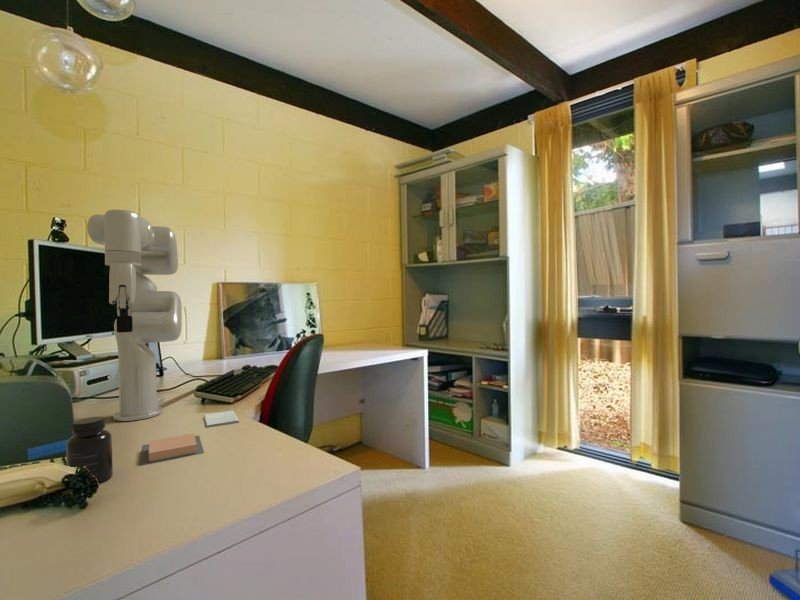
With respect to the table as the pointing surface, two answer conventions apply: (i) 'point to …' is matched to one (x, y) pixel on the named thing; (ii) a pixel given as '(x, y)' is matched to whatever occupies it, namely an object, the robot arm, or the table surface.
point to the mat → (146, 461)
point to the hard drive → (220, 419)
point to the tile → (172, 447)
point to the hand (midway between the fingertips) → (124, 331)
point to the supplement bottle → (91, 448)
